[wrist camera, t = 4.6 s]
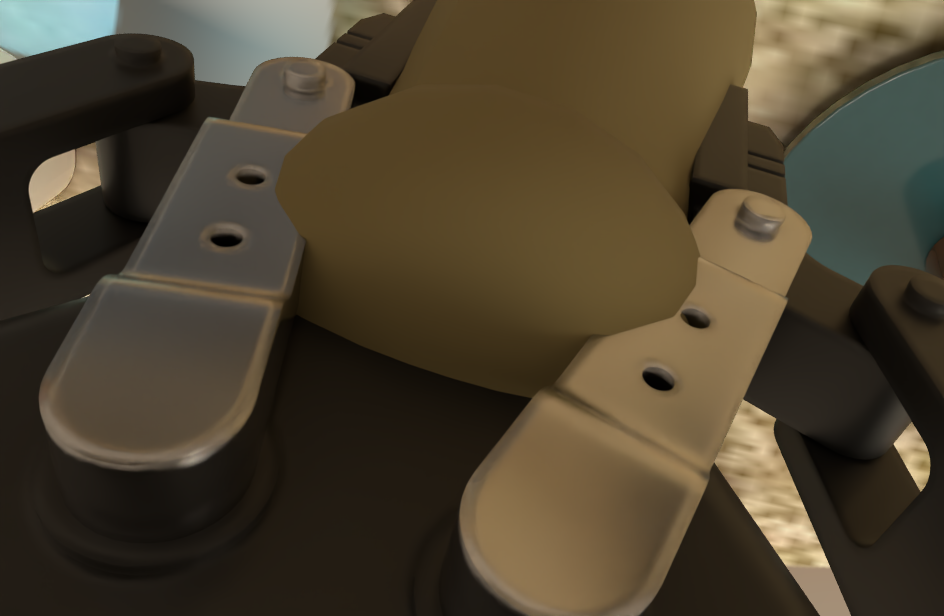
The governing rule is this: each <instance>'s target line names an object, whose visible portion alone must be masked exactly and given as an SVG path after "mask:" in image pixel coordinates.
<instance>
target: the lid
mask: <svg viewBox="0 0 944 616" xmlns="http://www.w3.org/2000/svg"><path fill="white" fill-rule="evenodd" d="M784 165H785V177H784V178H786V190H787V204H788V207H790V208H791V209H793V210H794V211H795V212H797V213H798V214H799V215H800V216H801V217H802V218H803V219H804V220H805V221H806V223H807V224H808V226H809V227H810V230H811V232H812V239H811V242H810V245H809V247H808V249H807V251H806V253H807V254H809V255H810V256H811V257H812V258H814V259H815V260H816V261H818V262H819V263H821V264H822V265H824V266H826V267H827V268H829V269H831V270H833V271H835V272H837V273H839V274H841V275H843V276H845V277H847V278H849V279H851V280H853V281H855V282H857V283H859V284H861V285H863V286H864V284H865V283H866V281H867V280H868V278H869V277H870V275H871V274H872V272H873V271H874V270H875V269H877V268H879V267H882V266H886V265H901V266H907V267H911V268H915V269H919V270H922V271H924V272H927V273H930V274H932V275H934V276H936V277H939V278H940V279H942V280H944V50H943V51H939V52H935V53H932V54H929V55H927V56H924V57H921V58H919V59H916V60H913V61H911V62H908V63H906V64H903V65H900V66H898V67H896V68H894V69H892V70H890V71H888V72H886V73H884V74H882V75H880V76H878V77H876V78H874V79H872V80H870V81H868V82H866V83H864V84H863V85H861V86H860V87H858V88H856V89H855V90H853V91H852V92H850V93H849V94H847V95H846V96H844V97H842V98H841V99H839V100H838V101H836V102H835V103H834V104H833V105H831V106H830V107H829V108H828V109H826V110H825V111H824V112H823V113H822V114H820V115H819V116H818V117H817V118H815V119H814V120H813V121H812V122H811V123H810V124H809V125H808V126H807V127H806V128H805V129H804V130H803V131H802V132H801V133H800V134H799V135H798V136H797V137H796V138H795V139H794V140H793V141H792V142H791V143H790V144H789V146H788V147H787V148H786V149H785V151H784Z"/></svg>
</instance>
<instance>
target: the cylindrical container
mask: <svg viewBox="0 0 944 616" xmlns="http://www.w3.org/2000/svg"><path fill="white" fill-rule="evenodd" d="M13 60H17V59H16V58H15V57H14V56H12V55H11V54H9V53H7V52H6V51H4V50H3V49H1V48H0V64H2V63H6V62H10V61H13ZM74 169H75V149H74V150H71V151H69V152H66V153H63V154H60V155H58V156H55V157H52V158H50V159H48V160H46V161H45V162H43V163H42V164H41V165H40V166H39V167H38V168H37V169H36V170H35V172H34V173H33V175H32V177H31V180H30V183H29V196H30V201H31V206H32V211H33V212H35V211H36V210H38V209H39V208H40V207H42V206H43V205H45V204H46V203H47V202H49V201H50V200H51V199H53V198H54V197H56V196H57V195H58V194H60V193H61V192H62V191H63V190H64V189H65V188H66V187H67V186H68V184H69V182H70V180H71V179H72V177H73V173H74Z"/></svg>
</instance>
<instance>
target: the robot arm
mask: <svg viewBox="0 0 944 616" xmlns="http://www.w3.org/2000/svg"><path fill="white" fill-rule="evenodd" d="M436 1H437V0H413V1H412V2H411V3H410V4H409V5H408V6H407V7H406V8H405V9H403V10H402V11H401V12H400V13H399V14H398V15H397V16H396V17H395V16H392V15H388V14H385V13H383V14H379V15H376V16H372V17H369V18H365V19H361V20H360V21H359V22H357V23H356V24H355V25H354V26H353V27H352V28H350V29H349V30H348V32H347V34H346V33H345V34H344V35H342V36H341V37H340V38H339V39H338V40H337V43H335V42H334V43H333V44H332V45H331V46H330V47H328V48H327V49H326V50H325V51H324V52H323V53H321V54H320V55H319V56H318V57H317V58H316V59H311V58H303V57H284V58H276V59H271V60H268V61H265V62H263V63H261V64H260V65H258V66H257V67H256V68H255V70H254V71H253V73H252V75H251V77H250V79H249V81H248V83H247V85H246V86H236V85H228V84H220V83H212V82H205V81H197V80H195V74H194V58H193V55H192V53H191V52H190V50H188V49H187V48H186V47H185V46H183V45H182V44H180V43H178V42H175V41H173V40H170V39H167V38H163V37H159V36H154V35H147V34H117V35H110V36H105V37H101V38H97V39H94V40H90V41H86V42H82V43H78V44H75V45H71V46H67V47H63V48H59V49H55V50H52V51H48V52H44V53H40V54H36V55H32V56H29V57H25V58H21V59H17V60H13V61H10V62H6V63H2V64H0V616H820V615H819V614H818V612H817V611H816V609H815V608H814V606H813V605H812V603H811V602H810V601H809V599H808V598H807V596H806V595H805V593H804V592H803V590H802V589H801V588H800V586H799V585H798V583H797V582H796V580H795V579H794V577H793V576H792V575H791V573H790V572H789V570H788V569H787V567H786V566H785V564H784V563H783V562H782V560H781V559H780V557H779V556H778V554H777V553H776V551H775V550H774V549H773V547H772V546H771V544H770V543H769V541H768V540H767V538H766V537H765V536H764V534H763V533H762V531H761V530H760V528H759V527H758V525H757V524H756V523H755V521H754V520H753V518H752V517H751V515H750V514H749V512H748V511H747V509H746V508H745V507H744V505H743V504H742V502H741V501H740V499H739V498H738V496H737V495H736V494H735V492H734V491H733V489H732V488H731V486H730V485H729V483H728V482H727V481H726V479H725V478H724V476H723V475H722V473H721V472H720V470H719V469H718V467H717V466H716V465H715V463H714V461H715V459H716V457H717V454H718V452H719V450H720V448H721V446H722V444H723V441H724V439H725V437H726V435H727V433H728V430H729V428H730V426H731V424H732V422H733V420H734V417H735V415H736V413H737V411H738V409H739V406H740V404H741V402H742V400H743V399H744V400H745V401H747V402H749V403H751V404H752V405H754V406H756V407H757V408H759V409H761V410H763V411H764V412H766V413H768V414H769V415H771V416H773V417H775V418H776V422H775V424H774V435H775V439H776V442H777V444H778V446H779V449H780V451H781V453H782V456H783V458H784V460H785V463H786V465H787V467H788V470H789V472H790V474H791V477H792V479H793V481H794V484H795V486H796V488H797V491H798V493H799V495H800V497H801V500H802V502H803V504H804V507H805V509H806V511H807V514H808V516H809V518H810V521H811V523H812V525H813V528H814V530H815V532H816V535H817V537H818V539H819V542H820V544H821V546H822V549H823V551H824V553H825V556H826V558H827V560H828V563H829V565H830V567H831V570H832V572H833V574H834V576H835V579H836V581H837V584H838V586H839V588H840V591H841V593H842V595H843V597H844V600H845V602H846V604H847V607H848V609H849V611H850V614H851V616H944V280H942V279H940V278H939V277H936V276H934V275H932V274H930V273H927V272H924V271H922V270H919V269H915V268H911V267H907V266H901V265H886V266H882V267H879V268H877V269H875V270H874V271H873V272H872V274H871V275H870V277H869V278H868V280H867V281H866V283H865V284H864V286H863V285H861V284H859V283H857V282H855V281H853V280H851V279H849V278H847V277H845V276H843V275H841V274H839V273H837V272H835V271H833V270H831V269H829V268H827V267H826V266H824V265H822V264H821V263H819V262H818V261H816V260H815V259H814V258H812V257H811V256H810V255H809V254H807V253H806V251H807V249H808V247H809V245H810V242H811V239H812V232H811V230H810V227H809V226H808V224H807V223H806V221H805V220H804V219H803V218H802V217H801V216H800V215H799V214H798V213H797V212H795V211H794V210H793V209H791V208H790V207H788V204H787V190H786V178H784V177H785V165H784V150H783V145H782V143H781V142H780V141H779V139H778V138H777V137H776V135H775V134H774V133H773V132H772V130H771V129H770V128H769V127H767V126H763V125H760V124H756V123H753V122H750V121H748V89H746V88H742V87H739V86H735V85H732V84H730V86H729V88H728V91H727V93H726V95H725V97H724V100H723V102H722V104H721V105H720V107H719V109H718V111H717V113H716V115H715V117H714V119H713V121H712V123H711V125H710V127H709V129H708V131H707V133H706V135H705V137H704V139H703V141H702V143H701V145H700V147H699V149H698V151H697V153H696V155H695V160H694V165H693V170H692V174H691V179H690V184H689V187H690V191H689V205H688V220H687V221H688V224H689V226H690V228H691V231H692V233H693V236H694V238H695V240H696V244H697V247H698V250H699V253H700V256H701V257H699V258H698V262H697V277H696V286H695V287H694V289H693V290H692V292H691V293H690V295H689V296H688V298H687V299H686V300H685V302H684V303H683V305H682V306H681V308H680V309H679V311H678V312H677V314H676V315H675V316H674V317H672V318H669V319H665V320H662V321H658V322H655V323H652V324H648V325H645V326H642V327H638V328H635V329H631V330H628V331H625V332H621V333H618V334H614V335H600V334H592V335H591V337H590V338H589V339H588V341H587V342H586V343H585V345H584V346H583V347H582V348H581V350H580V351H579V352H578V354H577V355H576V356H575V358H574V359H573V360H572V361H571V363H570V364H569V365H568V367H567V368H566V369H565V371H564V372H563V373H562V374H561V376H560V377H559V378H558V379H557V381H556V382H555V383H554V384H553V385H552V386H545V387H543V388H542V389H541V390H540V391H539V392H538V393H537V394H536V395H535V396H534V397H533V398H529V397H524V396H519V395H514V394H509V393H504V392H499V391H495V390H492V389H488V388H485V387H481V386H478V385H474V384H471V383H467V382H464V381H460V380H456V379H453V378H449V377H446V376H443V375H440V374H437V373H434V372H431V371H428V370H425V369H422V368H419V367H416V366H413V365H410V364H407V363H405V362H402V361H399V360H397V359H394V358H392V357H389V356H386V355H384V354H381V353H378V352H376V351H373V350H371V349H368V348H365V347H363V346H361V345H358V344H356V343H354V342H352V341H350V340H348V339H346V338H344V337H342V336H339V335H337V334H335V333H333V332H331V331H329V330H327V329H325V328H323V327H320V326H318V325H316V324H314V323H312V322H310V321H308V320H306V319H304V318H302V317H300V316H298V315H297V314H296V313H297V309H298V305H299V296H300V286H301V277H302V269H303V262H304V254H305V246H306V238H304V237H303V236H301V235H300V234H299V233H298V232H297V230H296V228H295V227H294V225H293V224H292V222H291V221H290V219H289V217H288V216H287V214H286V213H285V211H284V209H283V208H282V206H281V205H280V203H279V202H278V199H277V196H276V193H275V187H276V184H277V180H278V177H279V174H280V170H281V167H282V164H283V161H284V157H285V155H286V154H287V153H288V152H289V151H290V150H291V149H293V148H294V147H295V146H296V145H297V144H298V143H299V142H300V141H301V140H302V139H303V138H304V137H305V136H306V135H307V134H308V133H309V132H310V131H311V130H312V129H313V128H314V127H316V126H317V125H318V124H319V123H320V122H321V121H322V120H324V119H325V118H327V117H330V116H333V115H335V114H338V113H341V112H344V111H346V110H349V109H352V108H355V107H357V106H360V105H363V104H366V103H369V102H372V101H375V100H378V99H381V98H383V97H386V96H389V94H390V92H391V90H392V88H393V86H394V84H395V82H396V81H397V79H398V78H399V76H400V75H401V73H402V71H403V70H404V68H405V65H406V63H407V61H408V58H409V56H410V54H411V51H412V49H413V47H414V45H415V43H416V41H417V39H418V37H419V35H420V33H421V31H422V29H423V27H424V25H425V23H426V21H427V19H428V17H429V15H430V13H431V11H432V9H433V7H434V5H435V3H436ZM93 142H95V143H96V150H97V157H98V165H99V172H100V180H101V186H98V187H96V188H93V189H91V190H89V191H86V192H84V193H81V194H79V195H76V196H74V197H71V198H69V199H67V200H64V201H62V202H59V203H57V204H54V205H52V206H49V207H47V208H45V209H42V210H40V211H37V212H35V213H33V211H32V206H31V201H30V196H29V183H30V180H31V177H32V175H33V173H34V172H35V170H36V169H37V168H38V167H39V166H40V165H41V164H42V163H43V162H45V161H46V160H48V159H50V158H52V157H55V156H58V155H60V154H63V153H66V152H69V151H71V150H74V149H77V148H80V147H82V146H85V145H88V144H91V143H93ZM90 293H91V294H90ZM88 294H90V295H89V296H88V297H85V296H86V295H88ZM83 297H84V298H83ZM681 313H682V314H684V315H685V317H686V319H687V321H688V323H689V325H688V324H686V323H685V322H684V321H683V320H682V318H681V315H680V314H681ZM911 422H913V424H914V426H915V427H916V429H917V431H918V432H919V434H920V436H921V437H922V439H923V441H924V442H925V444H926V446H927V449H928V452H929V456H930V464H931V466H930V475H929V479H928V482H927V484H926V486H925V488H924V489H923V490H922V491H921V492H920V490H919V488H918V487H917V485H916V483H915V481H914V480H913V478H912V476H911V474H910V473H909V471H908V469H907V467H906V466H905V464H904V462H903V460H902V458H901V457H900V455H899V453H898V451H897V450H896V448H895V446H894V442H895V441H896V440H897V439H898V437H899V436H900V435H901V434H902V433H903V431H904V430H905V429H906V428H907V426H908V425H909V424H910V423H911Z"/></svg>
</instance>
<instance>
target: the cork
mask: <svg viewBox="0 0 944 616" xmlns="http://www.w3.org/2000/svg"><path fill="white" fill-rule="evenodd" d="M756 16H757V12H756V8H755V3H754V0H437V1H436V3H435V5H434V7H433V9H432V11H431V13H430V15H429V17H428V19H427V21H426V23H425V25H424V27H423V29H422V31H421V33H420V35H419V37H418V39H417V41H416V43H415V45H414V47H413V49H412V51H411V54H410V56H409V58H408V61H407V63H406V65H405V68H404V70H403V71H402V73H401V75H400V76H399V78H398V79H397V81H396V82H395V84H394V86H393V88H392V90H391V92H390V94H389V96H386V97H383V98H381V99H378V100H375V101H372V102H369V103H366V104H363V105H360V106H357V107H355V108H352V109H349V110H346V111H344V112H341V113H338V114H335V115H333V116H330V117H327V118H325V119H324V120H322V121H321V122H320V123H319V124H318V125H317V126H316V127H314V128H313V129H312V130H311V131H310V132H309V133H308V134H307V135H306V136H305V137H304V138H303V139H302V140H301V141H300V142H299V143H298V144H297V145H296V146H295V147H294V148H293V149H291V150H290V151H289V152H288V153H287V154H286V155H285V157H284V161H283V164H282V167H281V170H280V174H279V177H278V180H277V184H276V187H275V193H276V196H277V199H278V202H279V203H280V205H281V206H282V208H283V209H284V211H285V213H286V214H287V216H288V217H289V219H290V221H291V222H292V224H293V225H294V227H295V228H296V230H297V232H298V233H299V234H300V235H301V236H303V237H304V238H306V246H305V254H304V262H303V269H302V277H301V286H300V296H299V305H298V309H297V313H296V314H297V315H298V316H300V317H302V318H304V319H306V320H308V321H310V322H312V323H314V324H316V325H318V326H320V327H323V328H325V329H327V330H329V331H331V332H333V333H335V334H337V335H339V336H342V337H344V338H346V339H348V340H350V341H352V342H354V343H356V344H358V345H361V346H363V347H365V348H368V349H371V350H373V351H376V352H378V353H381V354H384V355H386V356H389V357H392V358H394V359H397V360H399V361H402V362H405V363H407V364H410V365H413V366H416V367H419V368H422V369H425V370H428V371H431V372H434V373H437V374H440V375H443V376H446V377H449V378H453V379H456V380H460V381H464V382H467V383H471V384H474V385H478V386H481V387H485V388H488V389H492V390H495V391H499V392H504V393H509V394H514V395H519V396H524V397H529V398H533V397H534V396H535V395H536V394H537V393H538V392H539V391H540V390H541V389H542V388H543V387H545V386H552V385H553V384H554V383H555V382H556V381H557V379H558V378H559V377H560V376H561V374H562V373H563V372H564V371H565V369H566V368H567V367H568V365H569V364H570V363H571V361H572V360H573V359H574V358H575V356H576V355H577V354H578V352H579V351H580V350H581V348H582V347H583V346H584V345H585V343H586V342H587V341H588V339H589V338H590V337H591V335H592V334H600V335H614V334H618V333H621V332H625V331H628V330H631V329H635V328H638V327H642V326H645V325H648V324H652V323H655V322H658V321H662V320H665V319H669V318H672V317H674V316H675V315H676V314H677V312H678V311H679V309H680V308H681V306H682V305H683V303H684V302H685V300H686V299H687V298H688V296H689V295H690V293H691V292H692V290H693V289H694V287H695V286H696V277H697V262H698V258H699V257H701V256H700V253H699V250H698V247H697V244H696V240H695V238H694V236H693V233H692V231H691V228H690V226H689V224H688V221H687V220H688V205H689V191H690V187H689V184H690V179H691V174H692V170H693V165H694V160H695V155H696V153H697V151H698V149H699V147H700V145H701V143H702V141H703V139H704V137H705V135H706V133H707V131H708V129H709V127H710V125H711V123H712V121H713V119H714V117H715V115H716V113H717V111H718V109H719V107H720V105H721V104H722V102H723V100H724V97H725V95H726V93H727V91H728V88H729V86H730V84H732V85H735V86H739V87H742V88H743V85H744V83H745V80H746V77H747V75H748V72H749V69H750V67H751V62H752V53H753V44H754V34H755V25H756ZM680 315H681V318H682V320H683V321H684V322H685V323H686V324H688V325H689V323H688V321H687V319H686V317H685V315H684V314H682V313H681V314H680Z"/></svg>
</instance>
